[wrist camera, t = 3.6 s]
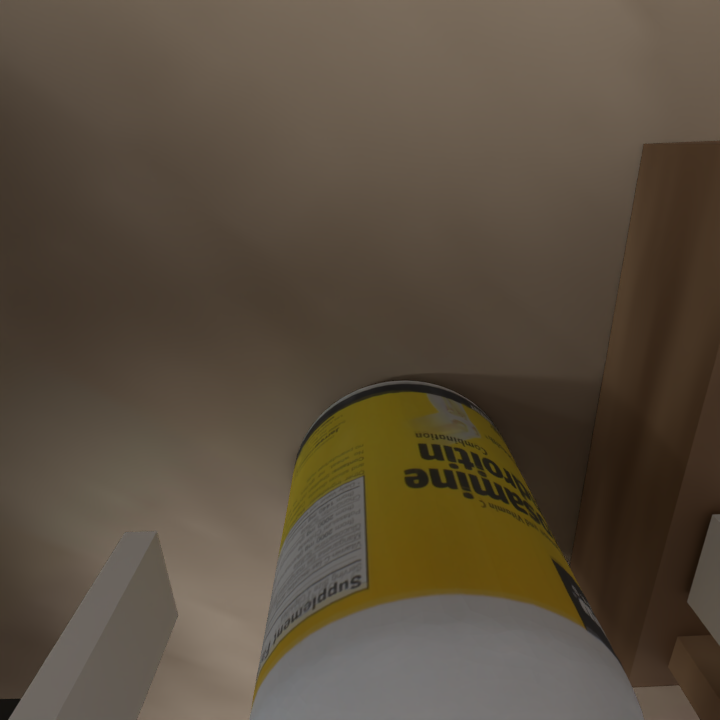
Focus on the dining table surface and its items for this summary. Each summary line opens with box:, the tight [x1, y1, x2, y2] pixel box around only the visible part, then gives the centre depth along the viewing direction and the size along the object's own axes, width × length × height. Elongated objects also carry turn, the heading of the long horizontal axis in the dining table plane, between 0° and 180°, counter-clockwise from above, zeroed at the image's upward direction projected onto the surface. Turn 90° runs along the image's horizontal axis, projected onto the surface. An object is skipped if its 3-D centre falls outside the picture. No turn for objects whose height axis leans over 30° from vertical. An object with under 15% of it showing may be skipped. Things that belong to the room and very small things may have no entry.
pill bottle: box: [250, 381, 644, 720], centre depth 10 cm, size 6×6×12 cm
